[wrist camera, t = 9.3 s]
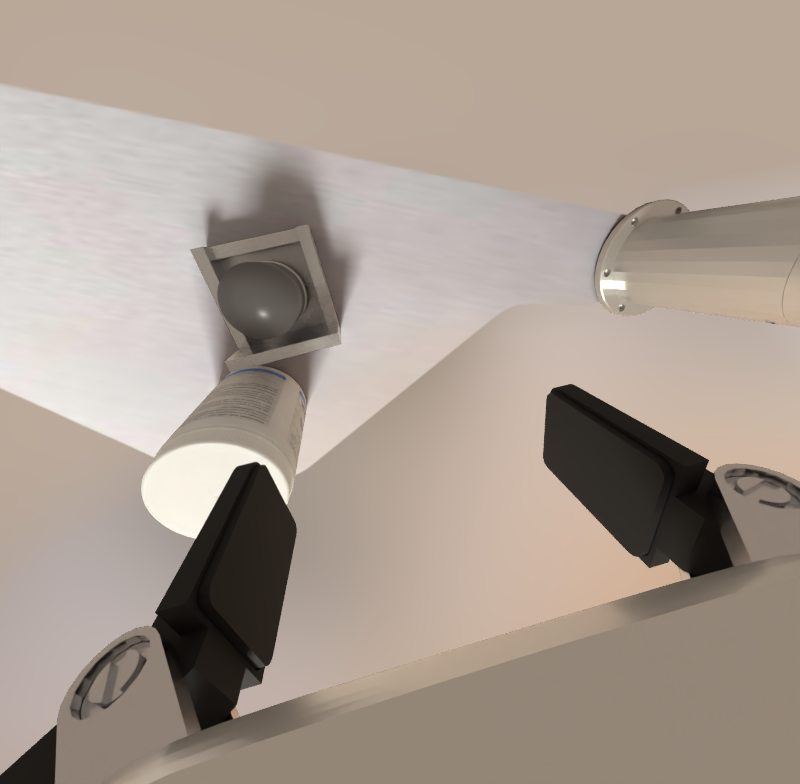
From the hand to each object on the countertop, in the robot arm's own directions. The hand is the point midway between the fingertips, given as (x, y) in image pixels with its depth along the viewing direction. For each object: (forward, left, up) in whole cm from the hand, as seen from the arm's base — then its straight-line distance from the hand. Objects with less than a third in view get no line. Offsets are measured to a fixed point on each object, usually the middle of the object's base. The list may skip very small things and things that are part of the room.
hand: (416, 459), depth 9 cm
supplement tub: (+13, +6, -25) cm, 29 cm away
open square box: (+7, -5, -24) cm, 26 cm away
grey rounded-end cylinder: (+7, -5, -24) cm, 25 cm away
